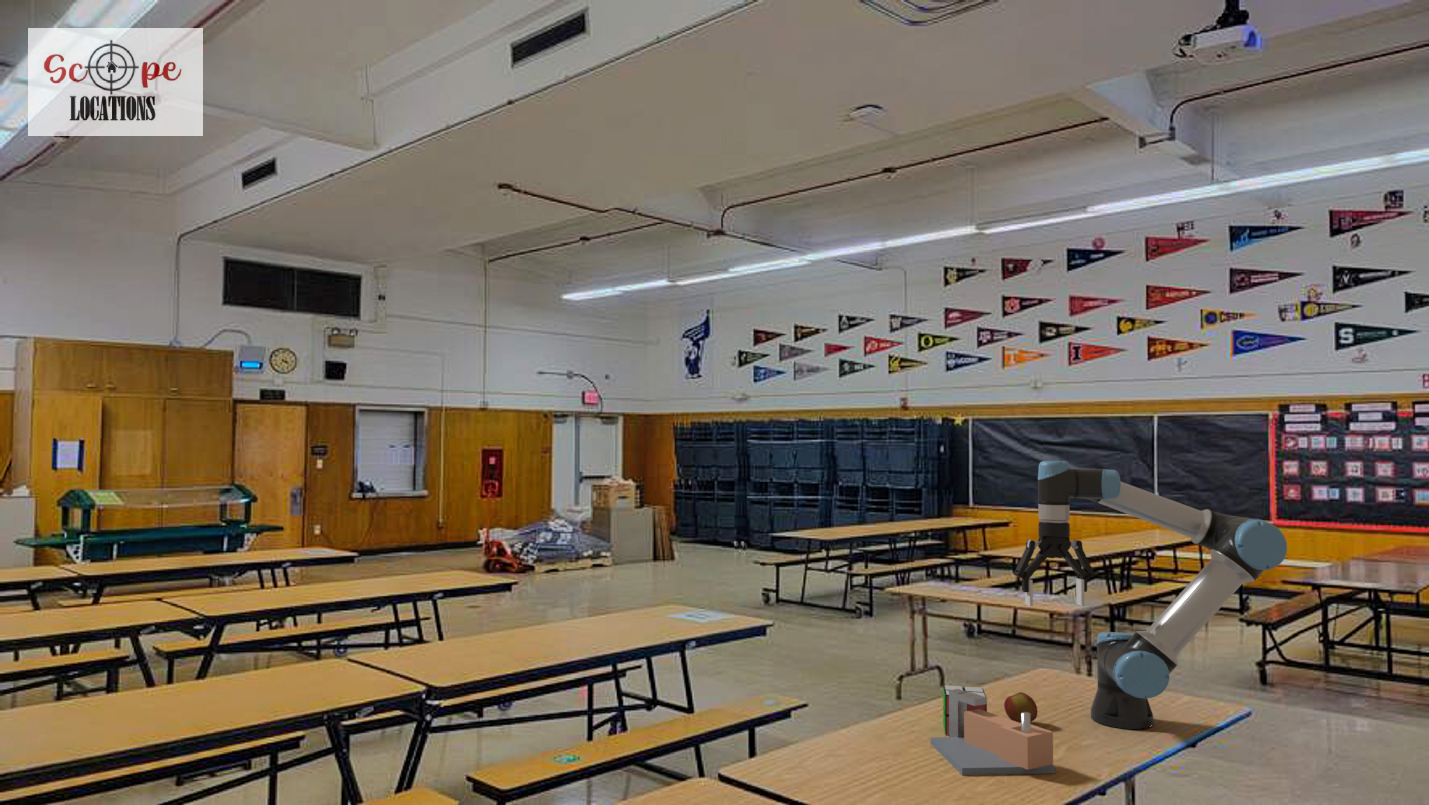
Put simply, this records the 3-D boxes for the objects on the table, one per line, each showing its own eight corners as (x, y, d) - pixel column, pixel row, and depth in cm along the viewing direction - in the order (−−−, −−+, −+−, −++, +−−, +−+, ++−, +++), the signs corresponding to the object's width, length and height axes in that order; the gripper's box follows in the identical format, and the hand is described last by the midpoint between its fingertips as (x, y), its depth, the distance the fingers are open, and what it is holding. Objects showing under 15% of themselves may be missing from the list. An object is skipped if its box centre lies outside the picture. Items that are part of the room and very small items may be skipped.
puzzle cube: (987, 739, 221) (987, 697, 222) (945, 736, 223) (945, 695, 224) (983, 726, 231) (983, 687, 232) (943, 724, 233) (943, 684, 234)
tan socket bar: (959, 742, 213) (959, 712, 214) (984, 737, 217) (983, 708, 217) (1027, 769, 195) (1027, 737, 196) (1053, 764, 199) (1052, 731, 200)
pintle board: (1014, 742, 219) (1014, 736, 219) (1054, 773, 198) (1054, 766, 198) (930, 743, 217) (930, 737, 217) (962, 775, 196) (962, 768, 196)
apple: (1023, 718, 239) (1023, 687, 239) (1043, 727, 231) (1043, 695, 231) (998, 720, 236) (998, 689, 237) (1018, 730, 229) (1018, 698, 229)
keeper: (959, 738, 221) (959, 688, 222) (987, 749, 213) (986, 697, 214) (947, 740, 219) (947, 690, 220) (974, 751, 212) (974, 699, 212)
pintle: (1028, 766, 202) (1028, 712, 202) (1032, 769, 200) (1031, 714, 200) (1019, 766, 202) (1019, 712, 202) (1023, 769, 200) (1023, 714, 200)
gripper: (1093, 520, 235) (1094, 602, 234) (1000, 519, 233) (1001, 602, 232) (1108, 522, 227) (1109, 607, 226) (1013, 522, 225) (1013, 607, 224)
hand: (1054, 605), depth 229 cm, fingers open, 13 cm apart
